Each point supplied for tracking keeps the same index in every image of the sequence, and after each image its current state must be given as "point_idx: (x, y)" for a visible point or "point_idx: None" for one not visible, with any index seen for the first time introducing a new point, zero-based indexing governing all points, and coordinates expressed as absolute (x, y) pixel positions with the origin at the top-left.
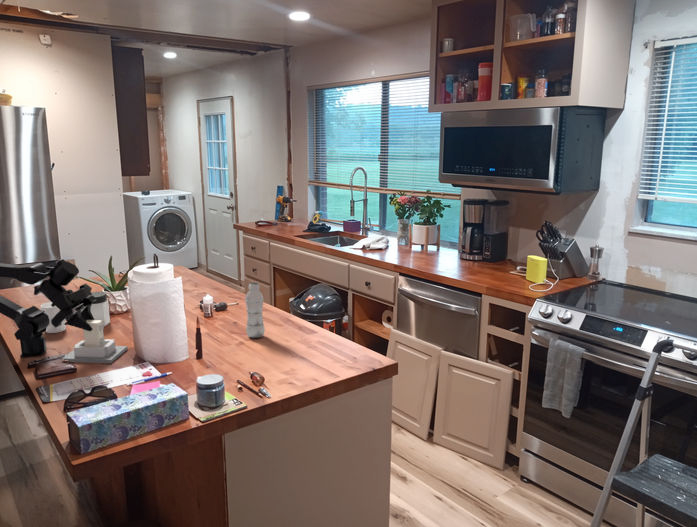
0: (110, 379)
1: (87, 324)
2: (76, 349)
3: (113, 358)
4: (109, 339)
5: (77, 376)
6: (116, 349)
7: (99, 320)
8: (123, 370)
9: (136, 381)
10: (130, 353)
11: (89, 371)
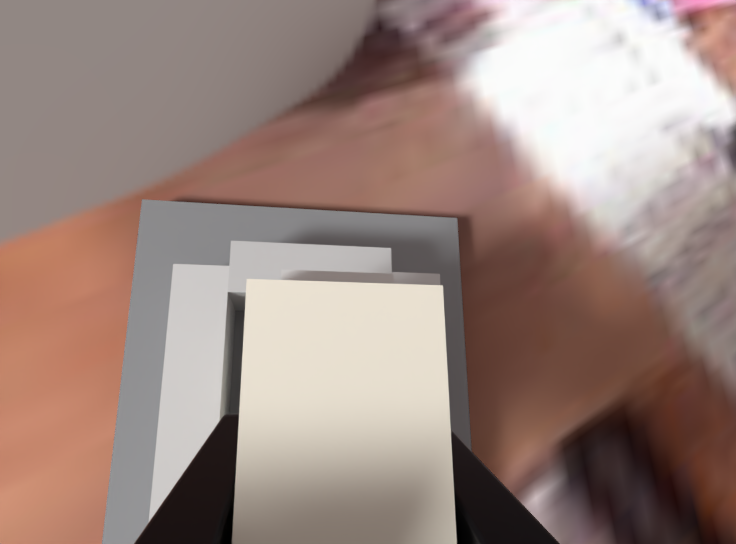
0: (660, 138)
1: (493, 490)
2: None
3: (407, 218)
4: (171, 321)
5: (675, 356)
6: (228, 261)
7: (262, 334)
8: (535, 109)
9: (646, 4)
10: (239, 160)
11: (591, 315)
